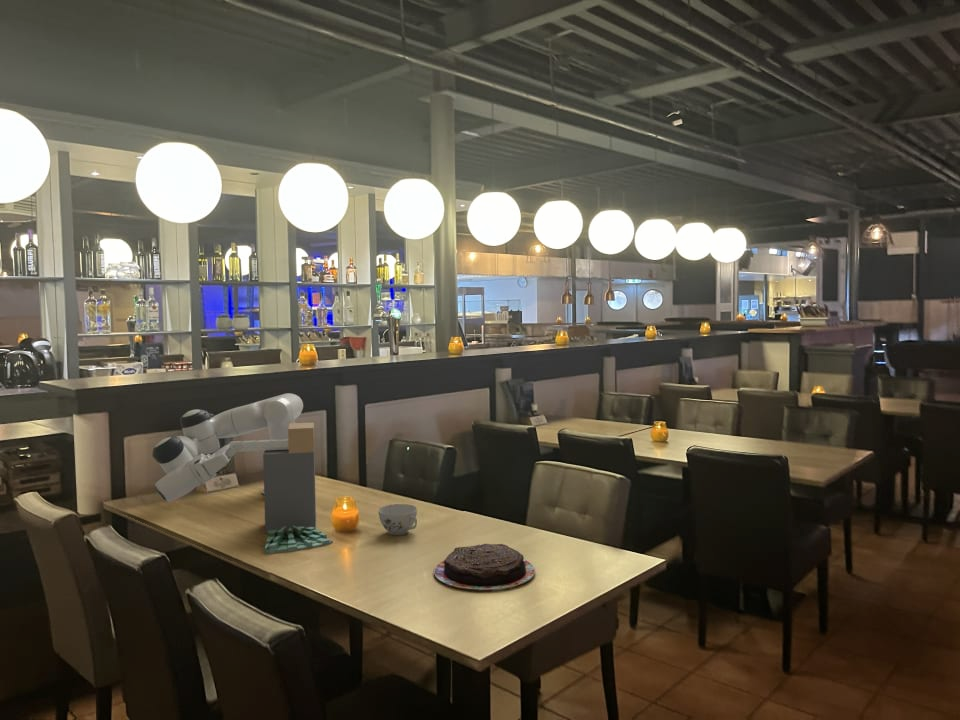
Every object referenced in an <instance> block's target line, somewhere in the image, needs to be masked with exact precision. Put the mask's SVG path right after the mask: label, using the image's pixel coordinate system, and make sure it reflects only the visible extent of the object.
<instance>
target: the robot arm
mask: <svg viewBox="0 0 960 720" xmlns="http://www.w3.org/2000/svg"><path fill="white" fill-rule="evenodd" d="M303 409H304V402H303V399H301V397H300V396H299V395H297V394H295V393H290V392H289V393H283V394H279V395H275V396H273V397H268V398H266V399H263V400H258V401H256V402H251V403H249V404H245V405H241V406H236V407H234V408H230V409H227V410H225V411H223V412H220V413H218V414H216V415H214V414H213V413H212V412H208V411H207V410H204V409H201V408H200V409H199V408H198V409H192V410H189V411H186V413H184V414H182V416H181V417H180V419H179V422H180V427H181V429H182V433H183V435H176V434H171V435H170V436H167V437H165V438H163V439H161V440H160V441H159V442H158V443H156V445H155V446H154V447H153V449H152V458H153V459H154V460H155V461H156V462H157V463H158V464H159V465H160V467H161V468H162V470H163V471H164V472H165V474H166V475H164V476H162V477H161V478H160V479H159V480H158V481H156V482H155V485H154V487H155V489H156V491H157V493H158V495H159V496H160V497H161V498H162V499H163V500H164V501H165V502H168V503H170V502H173V501H175V500H178V499H179V498H181V497H184V496H185V495H187V494H189V493H190V492H192V491H193V490H194V489H196V488H198V487H199V486H202V485H203V484H205V483H207V482H208V481H211V480H212V479H214V478H216V477H217V473H218V472H219V471H220V470H222V469H223V468H224V467H225V466H226V465H228V464H229V462H230V460H231V459H232V458H233V457H234V455H236V454H237V453H238V451H240V450H242V448H243V447H242V446H241V444H238V445H237V446H235V447H234V448H232V449H230V443H228V444H226V445H224V446H221V444H220V443H221V442H220V440H219V439H226V438H227V439H228V438H233V437H234V438H235V437H239V436H242V435H247V434H251V433H253V432H258V431H261V430H265V429H268V433H269V438H270V439H269V440H278V439H288V428H289V424H290V423H296V419H297V418H299V417H300V415H301V414H302V411H303ZM212 416H213V417H212ZM261 494H263V495H264V489H262V490H261Z"/></svg>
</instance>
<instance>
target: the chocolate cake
mask: <svg viewBox="0 0 960 720" xmlns="http://www.w3.org/2000/svg"><path fill="white" fill-rule="evenodd" d="M535 573H536V570H535V567H534V565H533V564H532V563H531V562H530V561H528V560H526V559H525V558H524V555H523V554H522V553H520V552H519V550H516V549H514V548H513V547H509V545H506V544H504V543H497V544H496V543H491V544H490V543H483V544H476V545H469V546H459V547H455V548H454V549H453V551H452V552H450V554H448V555H447V556H446V557H445V559H444V560H443V561H440V562H439V563H438V564H437V565H436V566H435V567H434V568H433V575H434V577H435V579H437V580H438V582H441V583H443V584H445V586H446V587H448V588H457V589H459V590H461V591H468V592H472V593H473V592H474V593H483V592H484V593H485V592H486V593H487V592H495V591H498V592H499V591H503V590H504V591H505V590H512V589H515V588H516V587H517V586H520V585H522V584H525V583H530V582H531V580H532V578H533V577H534V575H535Z"/></svg>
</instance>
